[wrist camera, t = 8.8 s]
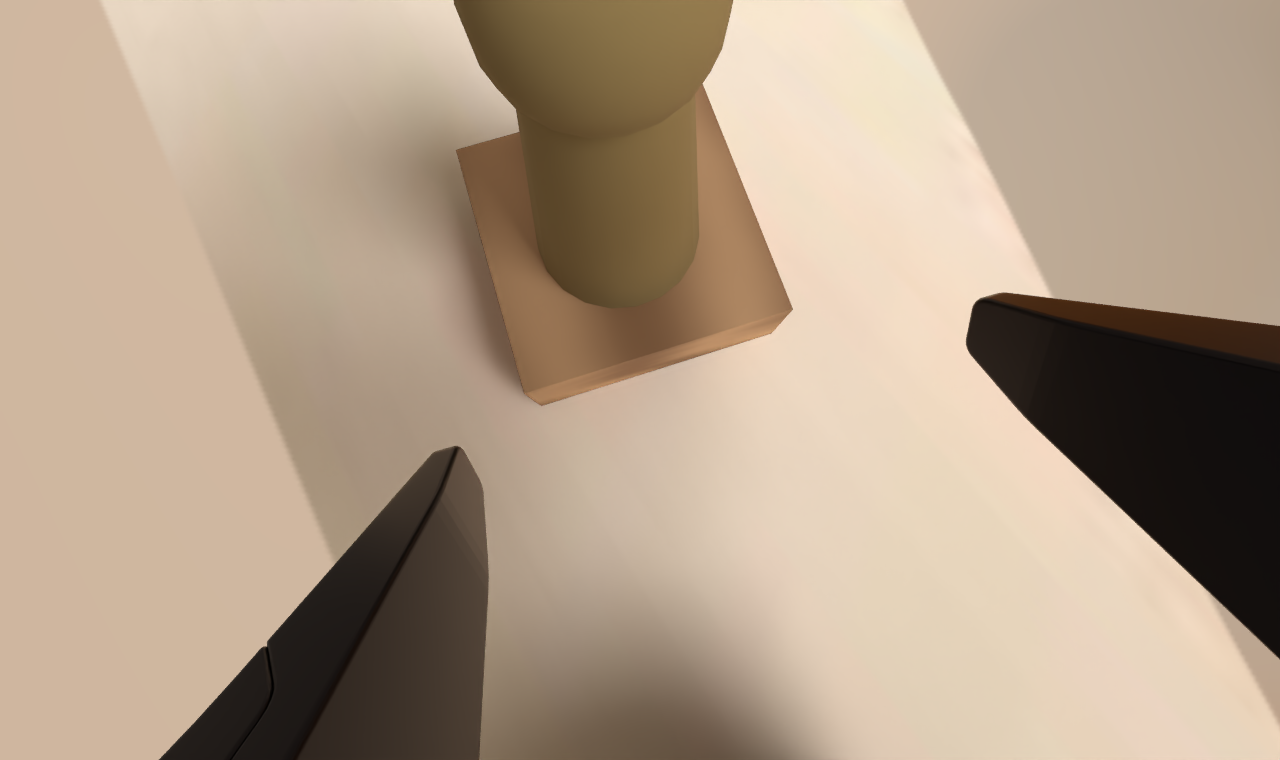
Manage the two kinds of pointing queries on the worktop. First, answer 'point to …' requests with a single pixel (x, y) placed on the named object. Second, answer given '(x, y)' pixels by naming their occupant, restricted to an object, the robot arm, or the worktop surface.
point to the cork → (605, 131)
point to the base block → (630, 336)
